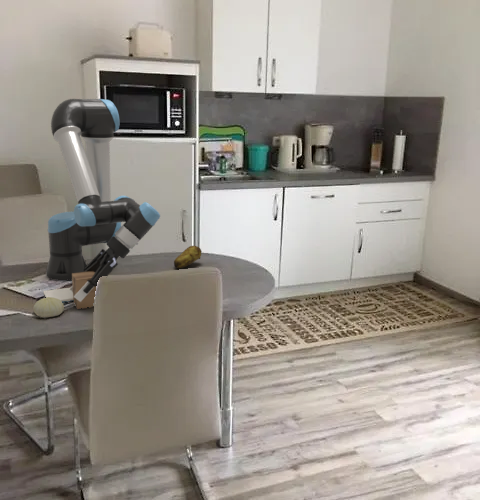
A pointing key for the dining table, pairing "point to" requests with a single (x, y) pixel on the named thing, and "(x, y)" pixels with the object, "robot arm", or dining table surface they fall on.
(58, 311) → the sea urchin shell
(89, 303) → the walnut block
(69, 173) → the robot arm
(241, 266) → the dining table surface
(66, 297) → the tile
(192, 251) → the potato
